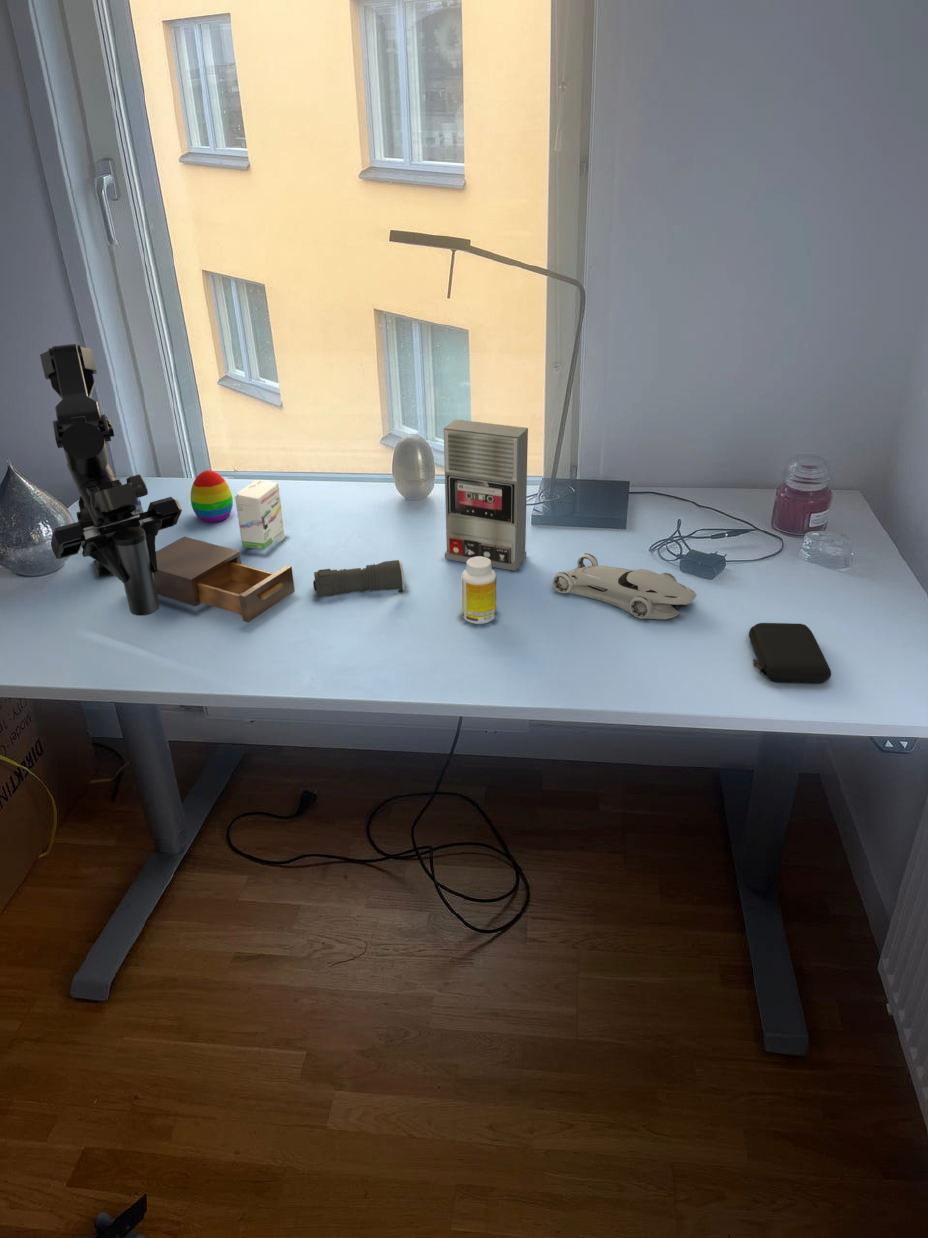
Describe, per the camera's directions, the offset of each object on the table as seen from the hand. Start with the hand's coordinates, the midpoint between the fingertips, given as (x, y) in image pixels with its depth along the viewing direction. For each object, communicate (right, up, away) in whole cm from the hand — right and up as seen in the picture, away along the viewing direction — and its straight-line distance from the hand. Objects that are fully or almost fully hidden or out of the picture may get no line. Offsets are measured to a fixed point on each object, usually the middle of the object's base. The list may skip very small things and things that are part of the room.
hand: (140, 576), depth 139 cm
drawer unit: (+1, -1, +25) cm, 25 cm away
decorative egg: (-3, +14, +52) cm, 54 cm away
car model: (+76, -3, +20) cm, 79 cm away
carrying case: (+97, -13, +2) cm, 98 cm away
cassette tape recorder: (+52, +5, +33) cm, 62 cm away
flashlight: (+30, -2, +23) cm, 38 cm away
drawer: (+11, -4, +19) cm, 23 cm away
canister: (-1, -5, +4) cm, 6 cm away
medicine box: (-17, +10, +45) cm, 49 cm away
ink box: (+10, +8, +40) cm, 42 cm away
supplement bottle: (+51, -6, +15) cm, 53 cm away
